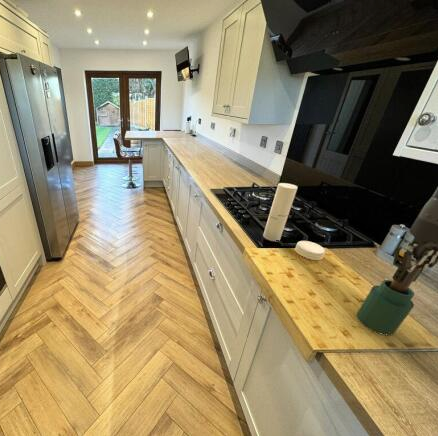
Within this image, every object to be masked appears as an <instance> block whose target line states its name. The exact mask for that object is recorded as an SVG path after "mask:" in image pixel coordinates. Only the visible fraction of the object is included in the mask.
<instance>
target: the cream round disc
mask: <svg viewBox="0 0 438 436" xmlns="http://www.w3.org/2000/svg"><path fill="white" fill-rule="evenodd" d="M294 250H295V252H296V254H297V255H299V256H300V255H301V256H300V257H302V256H303V257H302V258H304V257H305V258H304V259H306V260H310V259H311V260H310V261H321V260H323V259H324V256H325V254H326V250H325V248H324V247H323V246H321V244H318V243H316V242H312V241H309V240H300V241H297V243H296V245H295V248H294Z"/></svg>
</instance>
